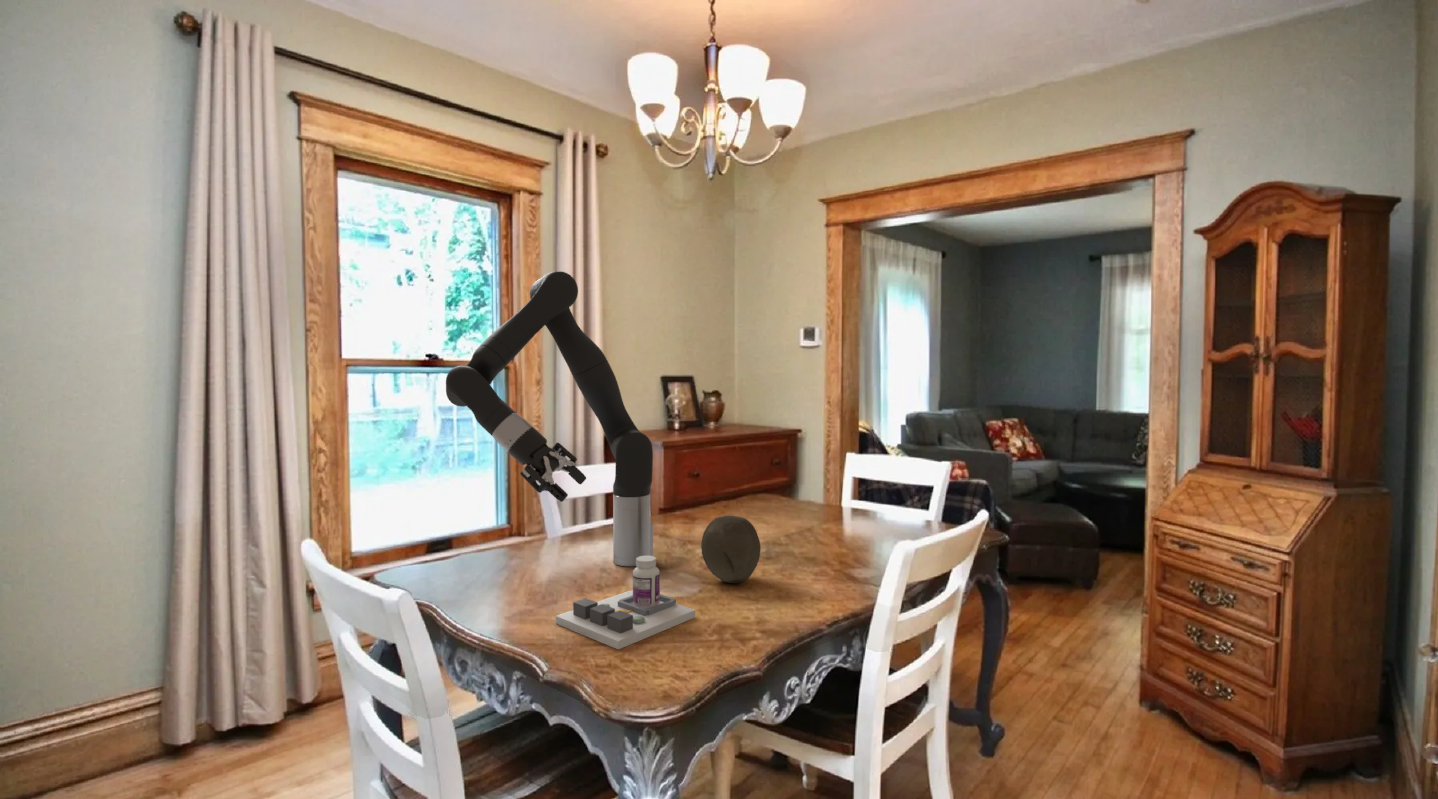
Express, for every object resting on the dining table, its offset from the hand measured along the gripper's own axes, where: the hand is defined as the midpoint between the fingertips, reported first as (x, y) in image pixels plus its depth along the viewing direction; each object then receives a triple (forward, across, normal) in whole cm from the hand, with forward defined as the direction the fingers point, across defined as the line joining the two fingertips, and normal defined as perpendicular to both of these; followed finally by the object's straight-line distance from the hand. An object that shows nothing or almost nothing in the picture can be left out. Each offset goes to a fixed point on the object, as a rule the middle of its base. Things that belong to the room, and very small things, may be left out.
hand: (574, 489), depth 146 cm
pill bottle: (+27, -12, 0) cm, 29 cm away
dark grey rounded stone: (+40, +11, -2) cm, 42 cm away
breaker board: (+25, -17, +1) cm, 30 cm away
